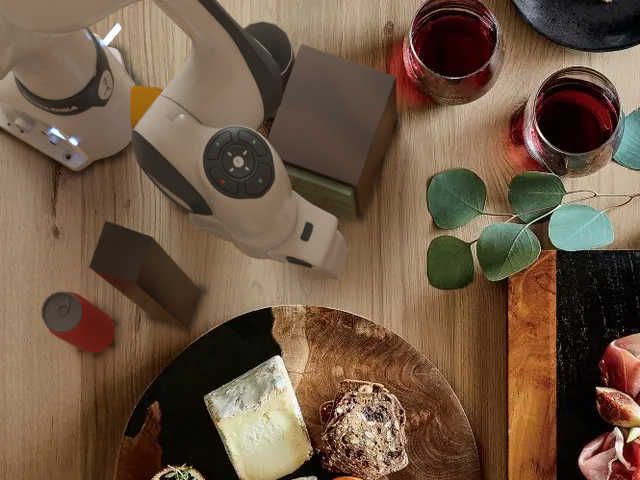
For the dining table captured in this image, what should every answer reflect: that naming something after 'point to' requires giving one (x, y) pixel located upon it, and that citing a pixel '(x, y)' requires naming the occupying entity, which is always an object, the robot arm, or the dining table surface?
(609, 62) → the dining table surface
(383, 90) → the cabinet
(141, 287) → the plinth
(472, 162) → the dining table surface
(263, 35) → the cup
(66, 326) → the beer can
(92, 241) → the dining table surface
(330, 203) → the drawer
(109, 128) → the robot arm
